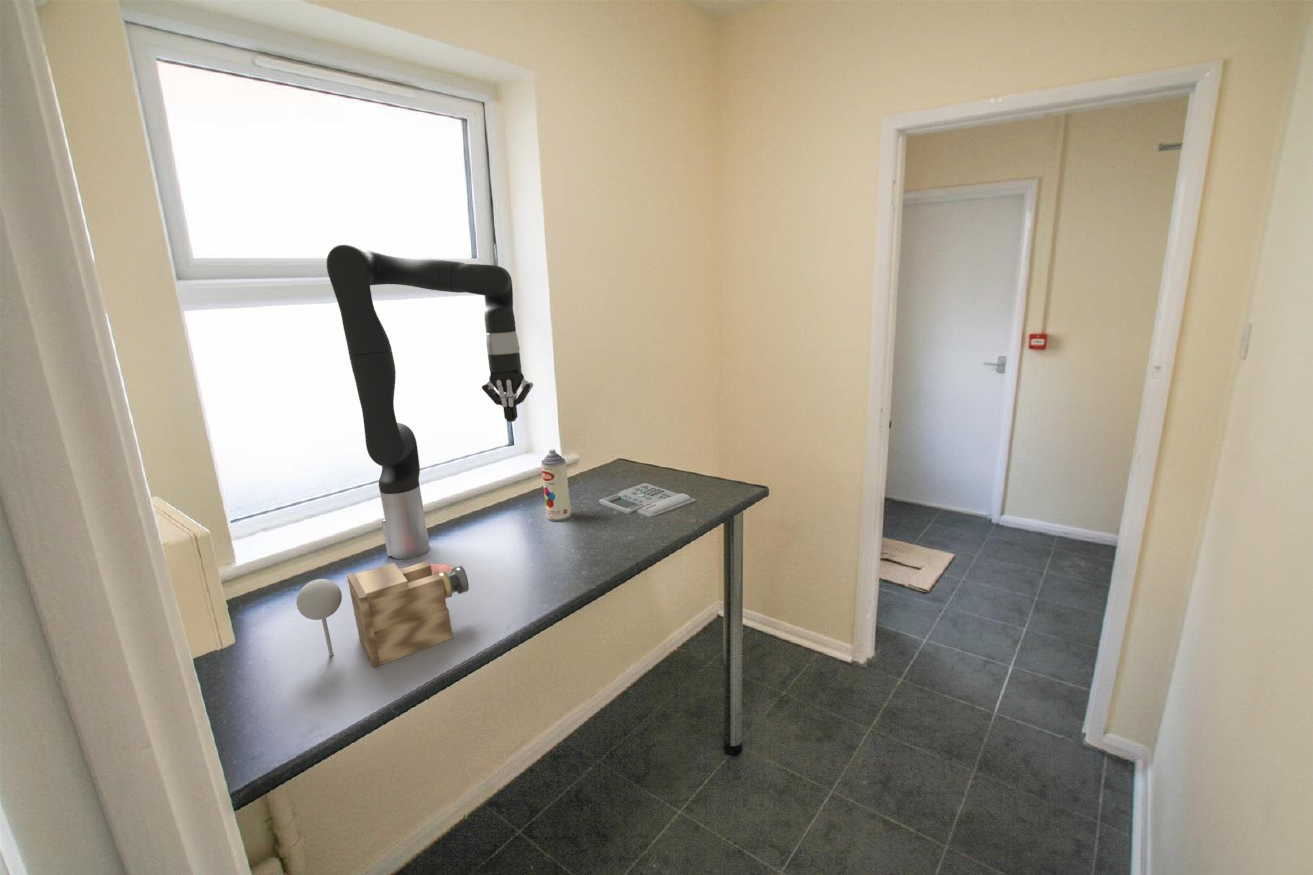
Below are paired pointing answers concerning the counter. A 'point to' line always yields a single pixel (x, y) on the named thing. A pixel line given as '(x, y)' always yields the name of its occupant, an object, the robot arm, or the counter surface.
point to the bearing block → (399, 610)
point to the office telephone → (648, 500)
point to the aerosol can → (556, 487)
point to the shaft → (454, 581)
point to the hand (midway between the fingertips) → (511, 420)
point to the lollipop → (320, 603)
